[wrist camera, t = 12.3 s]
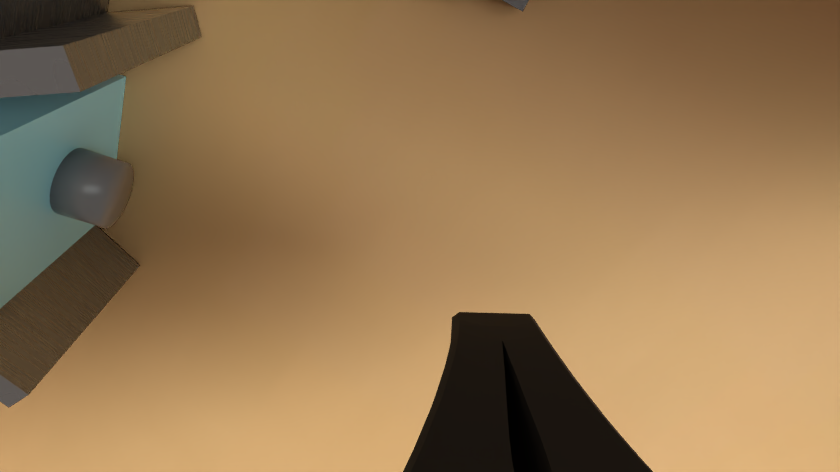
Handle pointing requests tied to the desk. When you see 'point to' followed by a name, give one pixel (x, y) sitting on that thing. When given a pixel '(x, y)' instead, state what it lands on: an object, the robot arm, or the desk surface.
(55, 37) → the port block
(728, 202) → the desk surface
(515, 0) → the holster
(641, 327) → the desk surface
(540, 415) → the robot arm
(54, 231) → the teal rectangular block
